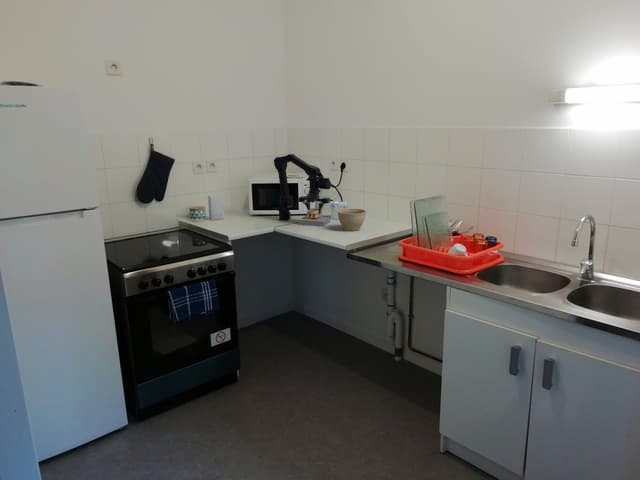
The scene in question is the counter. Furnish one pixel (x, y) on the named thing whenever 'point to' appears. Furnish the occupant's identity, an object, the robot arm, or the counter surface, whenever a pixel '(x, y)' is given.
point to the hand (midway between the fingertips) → (314, 213)
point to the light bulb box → (337, 208)
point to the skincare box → (215, 207)
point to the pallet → (313, 213)
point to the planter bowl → (351, 218)
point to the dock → (314, 221)
